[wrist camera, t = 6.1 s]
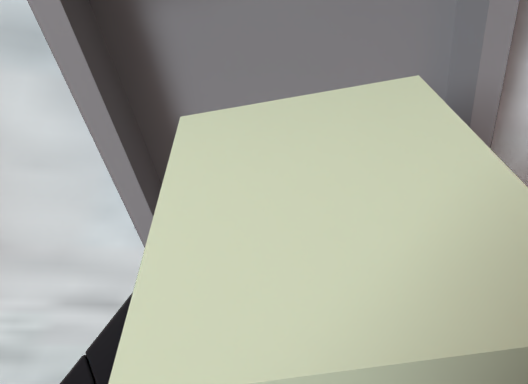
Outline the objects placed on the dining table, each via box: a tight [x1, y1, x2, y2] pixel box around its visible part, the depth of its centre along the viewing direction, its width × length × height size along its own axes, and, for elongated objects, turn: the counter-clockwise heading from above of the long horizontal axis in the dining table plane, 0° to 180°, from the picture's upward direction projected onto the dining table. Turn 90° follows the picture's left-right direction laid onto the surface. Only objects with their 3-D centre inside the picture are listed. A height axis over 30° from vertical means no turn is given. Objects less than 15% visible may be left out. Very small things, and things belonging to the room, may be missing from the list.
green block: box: [108, 75, 528, 384], centre depth 8 cm, size 5×5×6 cm
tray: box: [27, 0, 519, 247], centre depth 14 cm, size 13×13×2 cm
